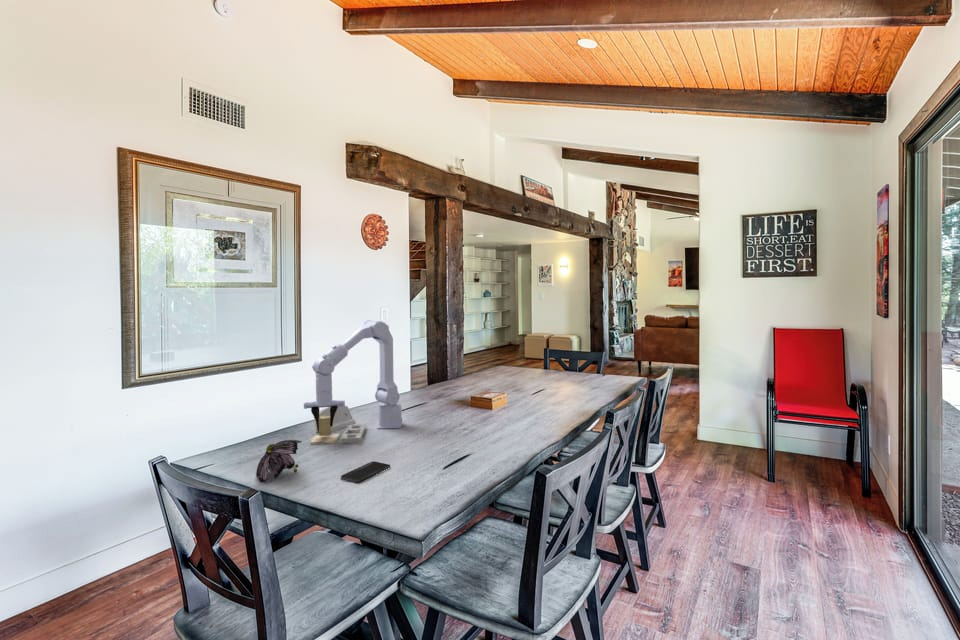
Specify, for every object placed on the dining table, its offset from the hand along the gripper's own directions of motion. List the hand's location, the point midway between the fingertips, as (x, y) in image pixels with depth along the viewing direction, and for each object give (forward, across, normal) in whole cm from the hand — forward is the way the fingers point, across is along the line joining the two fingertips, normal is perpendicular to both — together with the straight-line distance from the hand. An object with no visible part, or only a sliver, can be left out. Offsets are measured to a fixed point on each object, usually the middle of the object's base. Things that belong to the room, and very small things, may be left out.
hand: (325, 426), depth 186 cm
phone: (+6, -16, +37) cm, 41 cm away
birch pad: (+5, 0, 0) cm, 5 cm away
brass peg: (+3, 0, 0) cm, 3 cm away
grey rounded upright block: (+6, -2, -16) cm, 17 cm away
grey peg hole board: (+5, -10, -3) cm, 12 cm away
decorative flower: (+6, +10, +33) cm, 35 cm away
